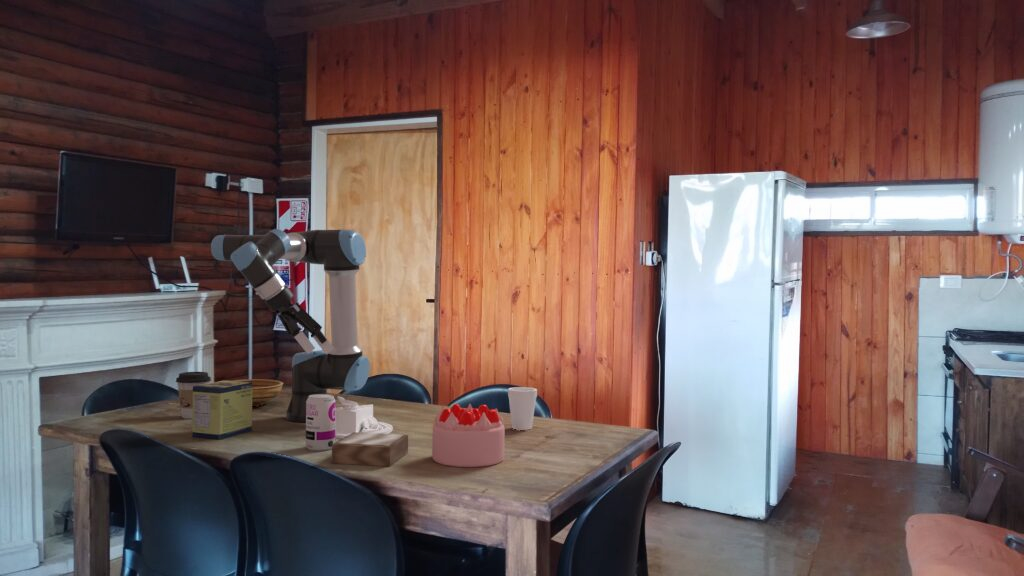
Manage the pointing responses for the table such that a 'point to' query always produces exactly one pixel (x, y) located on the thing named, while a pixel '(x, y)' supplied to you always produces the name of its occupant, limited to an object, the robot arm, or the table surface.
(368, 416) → the dish
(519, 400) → the foam cup
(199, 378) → the coffee cup
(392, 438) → the walnut stand
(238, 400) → the protein box
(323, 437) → the supplement can
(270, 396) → the wicker basket
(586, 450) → the table surface
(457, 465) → the cake
